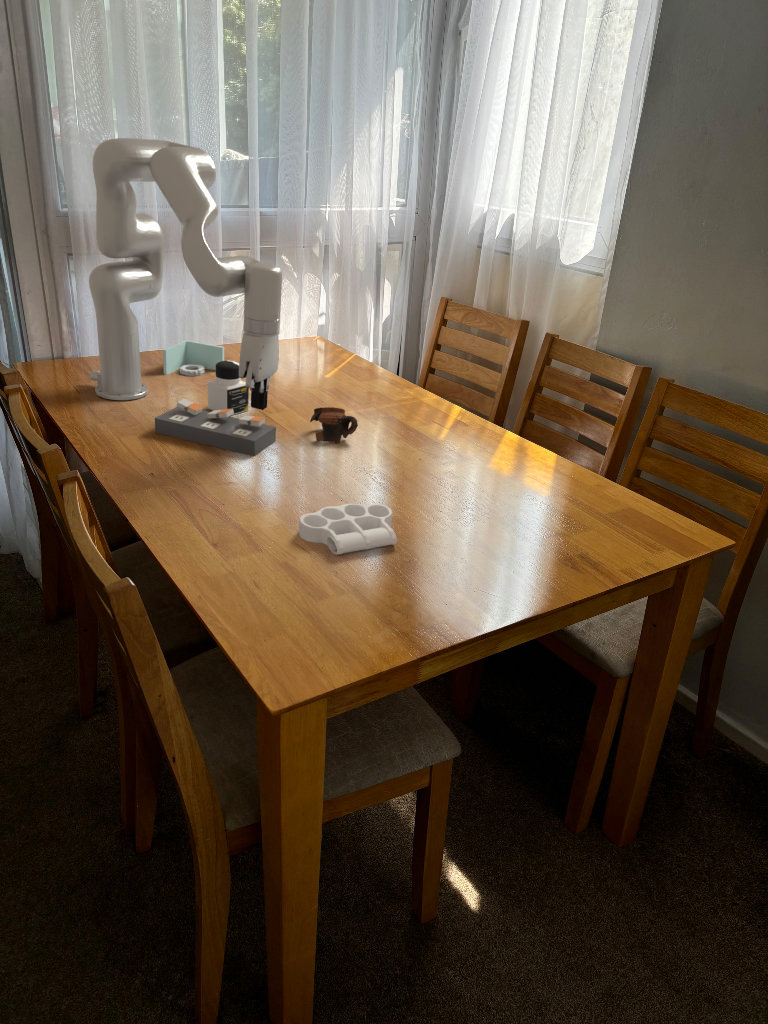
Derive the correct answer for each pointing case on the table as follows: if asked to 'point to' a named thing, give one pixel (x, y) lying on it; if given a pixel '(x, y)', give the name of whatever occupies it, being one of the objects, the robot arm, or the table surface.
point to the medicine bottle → (228, 389)
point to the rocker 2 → (220, 413)
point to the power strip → (215, 431)
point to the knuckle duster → (349, 527)
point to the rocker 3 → (252, 420)
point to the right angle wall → (191, 357)
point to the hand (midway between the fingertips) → (258, 407)
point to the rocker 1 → (189, 406)
